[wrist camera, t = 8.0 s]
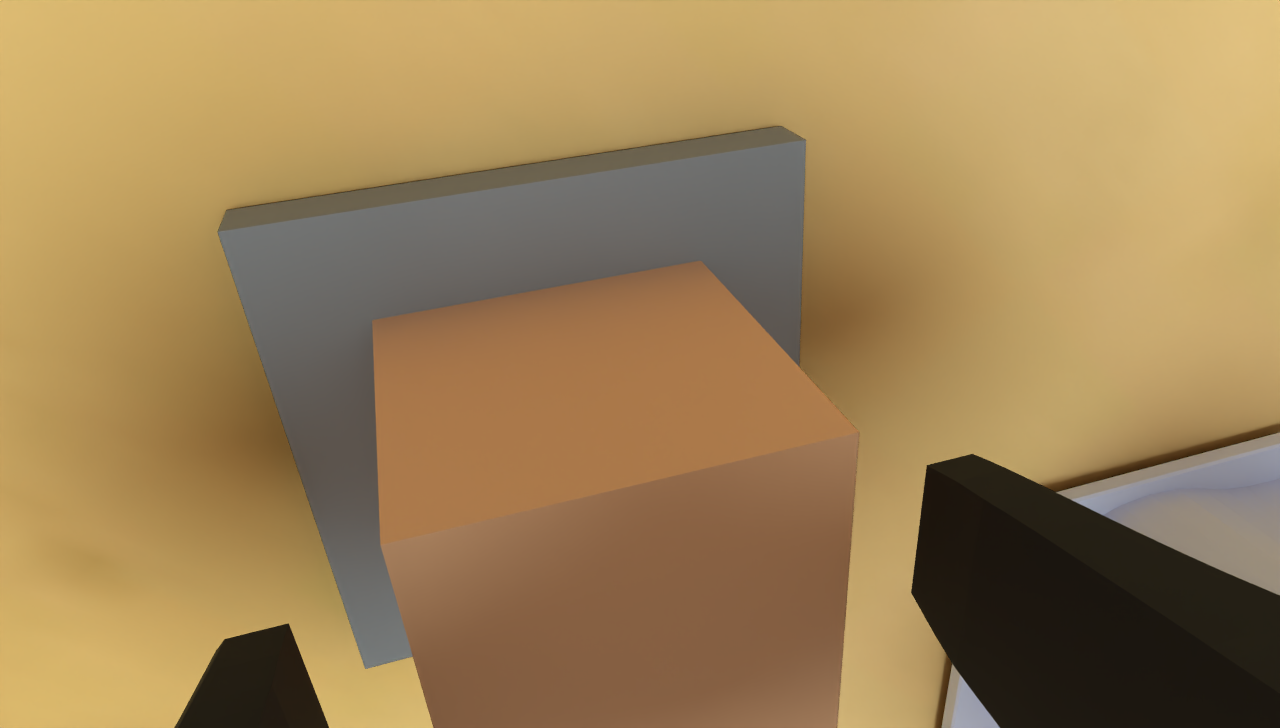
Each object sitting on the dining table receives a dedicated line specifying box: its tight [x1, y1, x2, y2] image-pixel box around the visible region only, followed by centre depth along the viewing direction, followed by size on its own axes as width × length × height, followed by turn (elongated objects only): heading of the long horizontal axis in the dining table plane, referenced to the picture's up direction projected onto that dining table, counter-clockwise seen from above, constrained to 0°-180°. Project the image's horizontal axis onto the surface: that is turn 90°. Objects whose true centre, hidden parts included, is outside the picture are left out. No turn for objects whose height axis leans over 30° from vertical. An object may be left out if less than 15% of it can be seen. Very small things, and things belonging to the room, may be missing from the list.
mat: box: [218, 126, 806, 669], centre depth 13 cm, size 8×8×1 cm
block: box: [372, 261, 859, 728], centre depth 11 cm, size 4×4×4 cm
